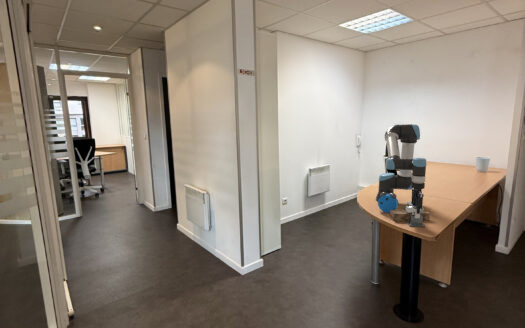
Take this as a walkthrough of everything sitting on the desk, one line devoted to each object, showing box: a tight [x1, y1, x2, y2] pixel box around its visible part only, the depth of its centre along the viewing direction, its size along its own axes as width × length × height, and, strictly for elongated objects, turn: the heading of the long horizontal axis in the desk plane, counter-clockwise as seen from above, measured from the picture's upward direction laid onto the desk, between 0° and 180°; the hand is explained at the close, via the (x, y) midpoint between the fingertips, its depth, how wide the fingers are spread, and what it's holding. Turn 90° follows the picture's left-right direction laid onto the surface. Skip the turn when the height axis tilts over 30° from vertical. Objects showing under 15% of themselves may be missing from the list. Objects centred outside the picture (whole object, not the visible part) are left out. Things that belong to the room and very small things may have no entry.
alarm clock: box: [377, 192, 399, 214], centre depth 208 cm, size 13×6×15 cm, turn 49°
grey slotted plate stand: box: [405, 215, 426, 228], centre depth 183 cm, size 8×9×6 cm
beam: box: [389, 201, 431, 222], centre depth 193 cm, size 24×8×11 cm, turn 81°
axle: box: [404, 205, 425, 213], centre depth 182 cm, size 10×4×4 cm, turn 81°
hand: (415, 216), depth 183 cm, fingers closed on axle, 4 cm apart
